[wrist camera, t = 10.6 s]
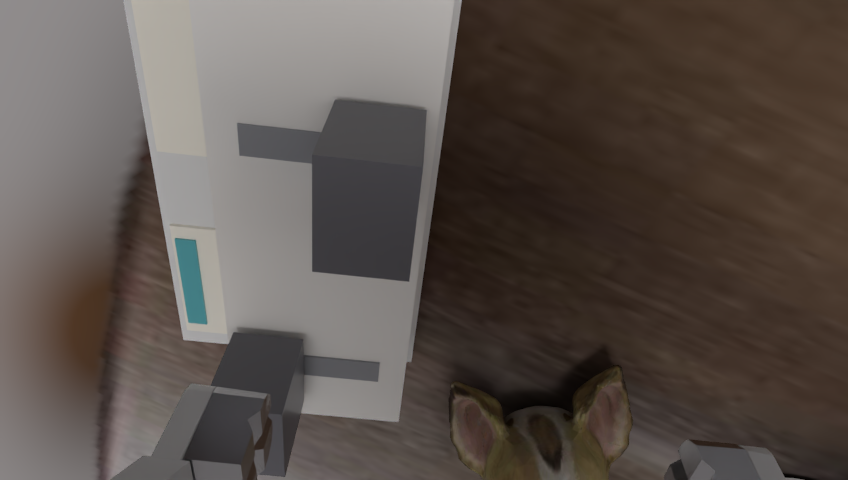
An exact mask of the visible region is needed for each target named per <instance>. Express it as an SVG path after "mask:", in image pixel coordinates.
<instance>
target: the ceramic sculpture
mask: <svg viewBox="0 0 848 480" xmlns="http://www.w3.org/2000/svg"><path fill="white" fill-rule="evenodd" d="M572 404H573V414H572V413H571V412H569V411H567V410H564V409H562V408H558V407H551V406H533V407H528V408H524V409H521V410H517V411H514V412H513V413H511V414H509V415H508V416H506V417H505V418H504V417H503V412H502V408H501V405H500V402H499V401H498V400H497V399H496V398H494V397H493V396H491V395H489V394H487V393H485V392H483V391H481V390H479V389H476V388H474V387H470V386H468V385H465V384H463V383H460V382H458V381H455V382H452V384H451V385H450V397H449V421H450V438H451V441H452V443H453V444H454V446H455V447H456V449H457V452H458V456H459V459H460V461H462V462H463V463H464V464H465V465H466V466H467V467H468V468H469V469H471V470H473V471H475V472H476V473H478V474H479V475H480V476H481V477H482V479H483V480H608V479H609V477H608V474H609V469H610V465H611V463H612V462H614V461H615V460H616V459H617V458H618V457H620V456H621V455H622V454H623V452H624V451H625V450H626V448H627V447H628V445H629V432H630V431H631V428H632V425H633V419H632V416H631V411H630V407H629V406H630V403H629V399H628V393H627V389H626V384H625V381H624V379H623V372H622V368H621V367H620V366H619V365H613V366H611V367H610V368H608V369H606V370H605V371H603V372H602V373H600V374H598V375H596V376H594V377H593V378H591V379H590V380H589V381H587V382H586V383H584V384H583V385H582V386H580V387H579V388H578V389H577V390H576V392H575V393H574V395H573V400H572Z"/></svg>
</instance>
